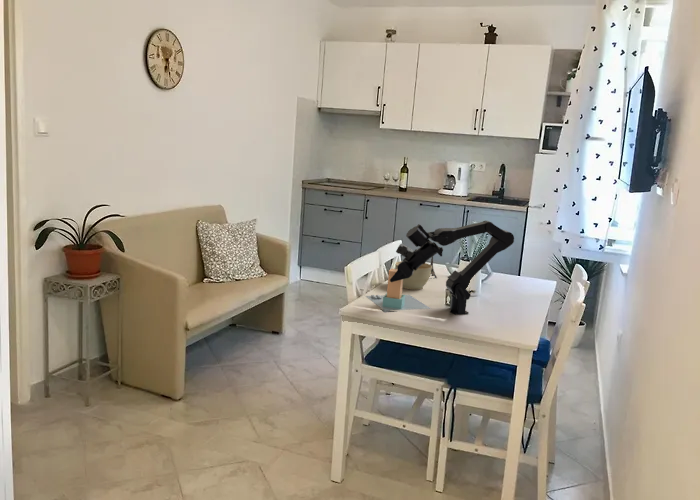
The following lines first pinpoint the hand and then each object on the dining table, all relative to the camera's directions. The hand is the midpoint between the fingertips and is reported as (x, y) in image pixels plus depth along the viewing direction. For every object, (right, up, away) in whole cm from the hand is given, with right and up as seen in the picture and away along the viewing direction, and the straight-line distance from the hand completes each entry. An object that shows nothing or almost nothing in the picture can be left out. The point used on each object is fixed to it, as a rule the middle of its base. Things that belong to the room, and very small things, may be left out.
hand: (392, 278), depth 239 cm
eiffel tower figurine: (+22, -3, +59) cm, 63 cm away
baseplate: (+2, -10, +7) cm, 13 cm away
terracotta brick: (+1, -8, +1) cm, 8 cm away
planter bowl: (+11, -6, +33) cm, 36 cm away
